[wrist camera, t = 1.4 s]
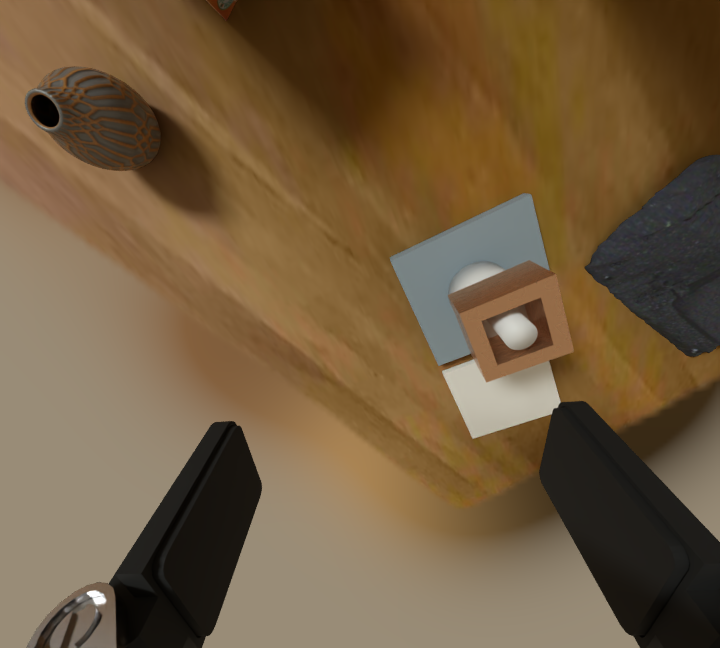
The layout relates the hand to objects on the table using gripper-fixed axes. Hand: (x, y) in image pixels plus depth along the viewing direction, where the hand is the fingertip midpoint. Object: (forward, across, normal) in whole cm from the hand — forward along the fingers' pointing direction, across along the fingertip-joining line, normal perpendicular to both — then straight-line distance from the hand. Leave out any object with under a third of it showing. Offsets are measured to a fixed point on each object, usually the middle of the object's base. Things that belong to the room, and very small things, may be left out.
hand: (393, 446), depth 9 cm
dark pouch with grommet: (+26, -34, +4) cm, 43 cm away
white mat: (+25, -15, +19) cm, 35 cm away
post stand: (+25, -10, +4) cm, 28 cm away
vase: (+26, +21, -14) cm, 36 cm away
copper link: (+18, -10, +4) cm, 22 cm away
